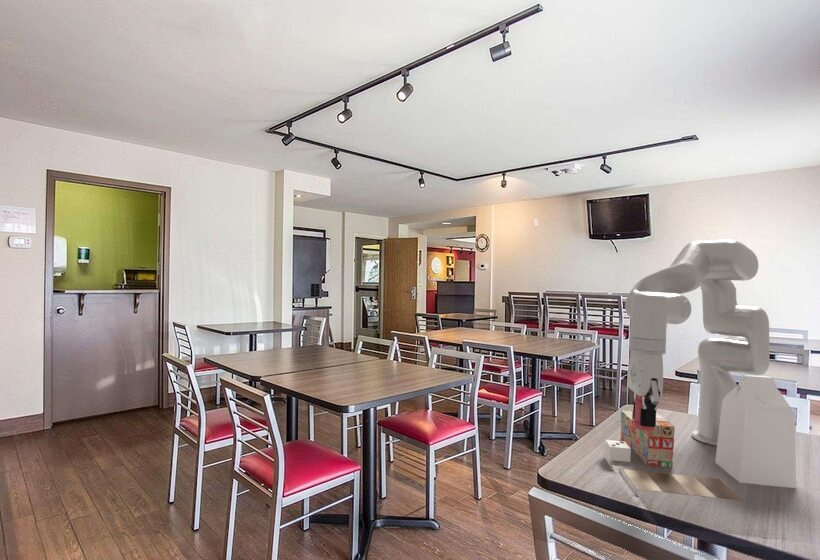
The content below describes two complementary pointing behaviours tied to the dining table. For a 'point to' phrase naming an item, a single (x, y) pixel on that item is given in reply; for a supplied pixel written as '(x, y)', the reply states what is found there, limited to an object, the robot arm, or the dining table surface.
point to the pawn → (637, 414)
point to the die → (617, 451)
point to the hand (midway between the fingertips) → (644, 421)
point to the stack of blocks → (649, 440)
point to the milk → (757, 434)
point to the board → (672, 486)
